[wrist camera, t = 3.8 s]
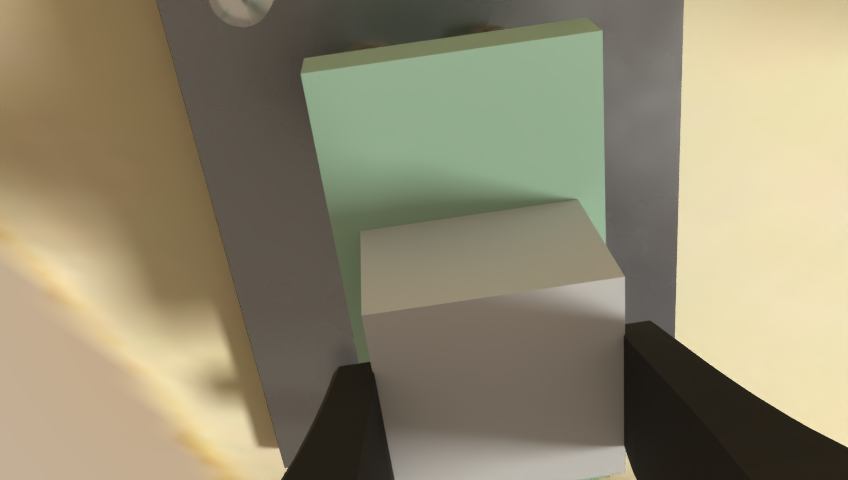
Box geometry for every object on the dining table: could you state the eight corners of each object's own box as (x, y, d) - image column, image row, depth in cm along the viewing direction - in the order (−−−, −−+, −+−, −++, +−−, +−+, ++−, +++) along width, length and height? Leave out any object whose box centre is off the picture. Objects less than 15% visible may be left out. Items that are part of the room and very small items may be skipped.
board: (597, 445, 18) (651, 583, 15) (386, 477, 18) (394, 622, 15) (587, 17, 14) (661, 77, 10) (303, 57, 14) (287, 132, 10)
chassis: (663, 393, 25) (707, 473, 22) (286, 449, 25) (276, 537, 21) (674, -176, 17) (744, -182, 14) (138, -101, 17) (90, -89, 14)
